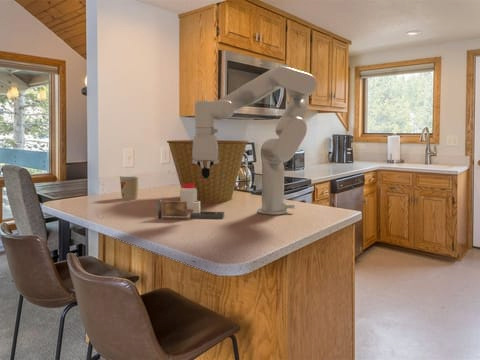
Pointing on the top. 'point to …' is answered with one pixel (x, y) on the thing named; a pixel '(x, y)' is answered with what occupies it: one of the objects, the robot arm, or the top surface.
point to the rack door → (175, 208)
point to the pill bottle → (188, 194)
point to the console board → (208, 215)
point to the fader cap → (196, 207)
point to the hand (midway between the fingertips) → (206, 177)
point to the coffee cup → (129, 187)
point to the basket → (221, 173)
